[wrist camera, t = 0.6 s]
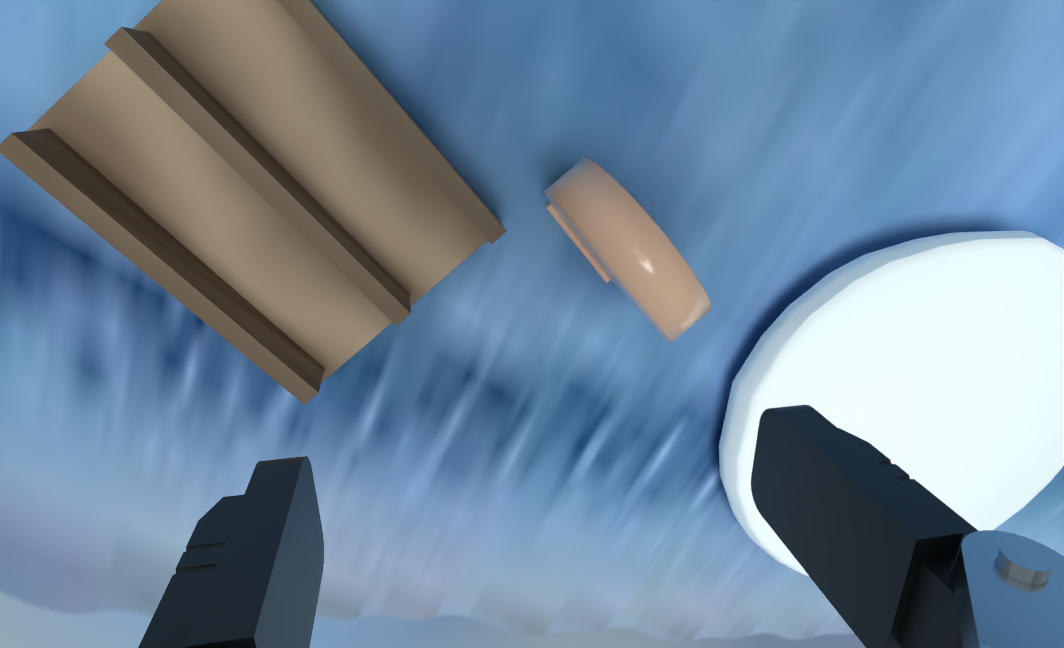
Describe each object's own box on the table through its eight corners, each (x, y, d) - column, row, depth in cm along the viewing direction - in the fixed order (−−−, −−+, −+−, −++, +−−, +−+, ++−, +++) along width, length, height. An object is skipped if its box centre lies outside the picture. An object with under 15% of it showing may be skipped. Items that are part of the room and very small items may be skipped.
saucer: (563, 143, 35) (627, 168, 25) (659, 271, 38) (745, 336, 29) (522, 179, 35) (569, 217, 25) (621, 302, 39) (695, 376, 29)
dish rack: (250, -73, 28) (226, -97, 24) (500, 221, 35) (512, 238, 32) (38, 131, 30) (-17, 139, 26) (321, 376, 37) (311, 410, 33)
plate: (811, 650, 47) (668, 400, 37) (772, 583, 53) (640, 351, 43) (1174, 482, 44) (1133, 152, 33) (1090, 430, 50) (1032, 135, 39)
